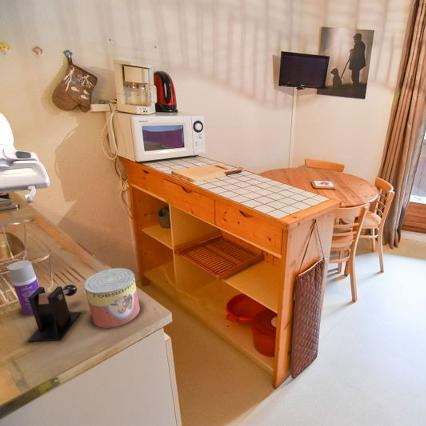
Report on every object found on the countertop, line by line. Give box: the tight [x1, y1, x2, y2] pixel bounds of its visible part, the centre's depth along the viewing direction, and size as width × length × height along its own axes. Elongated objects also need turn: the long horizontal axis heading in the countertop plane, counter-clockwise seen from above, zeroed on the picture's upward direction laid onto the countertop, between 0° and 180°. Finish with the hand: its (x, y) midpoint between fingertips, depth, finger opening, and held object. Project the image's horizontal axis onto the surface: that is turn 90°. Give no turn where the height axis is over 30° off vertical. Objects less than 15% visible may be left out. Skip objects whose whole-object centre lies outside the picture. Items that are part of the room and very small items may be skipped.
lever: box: [38, 283, 78, 304], centre depth 83 cm, size 12×3×3 cm, turn 9°
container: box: [7, 260, 40, 316], centre depth 85 cm, size 5×5×15 cm
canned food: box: [83, 267, 141, 329], centre depth 86 cm, size 11×11×12 cm
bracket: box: [27, 285, 82, 343], centre depth 80 cm, size 10×7×12 cm
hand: (6, 205), depth 86 cm, fingers open, 8 cm apart
